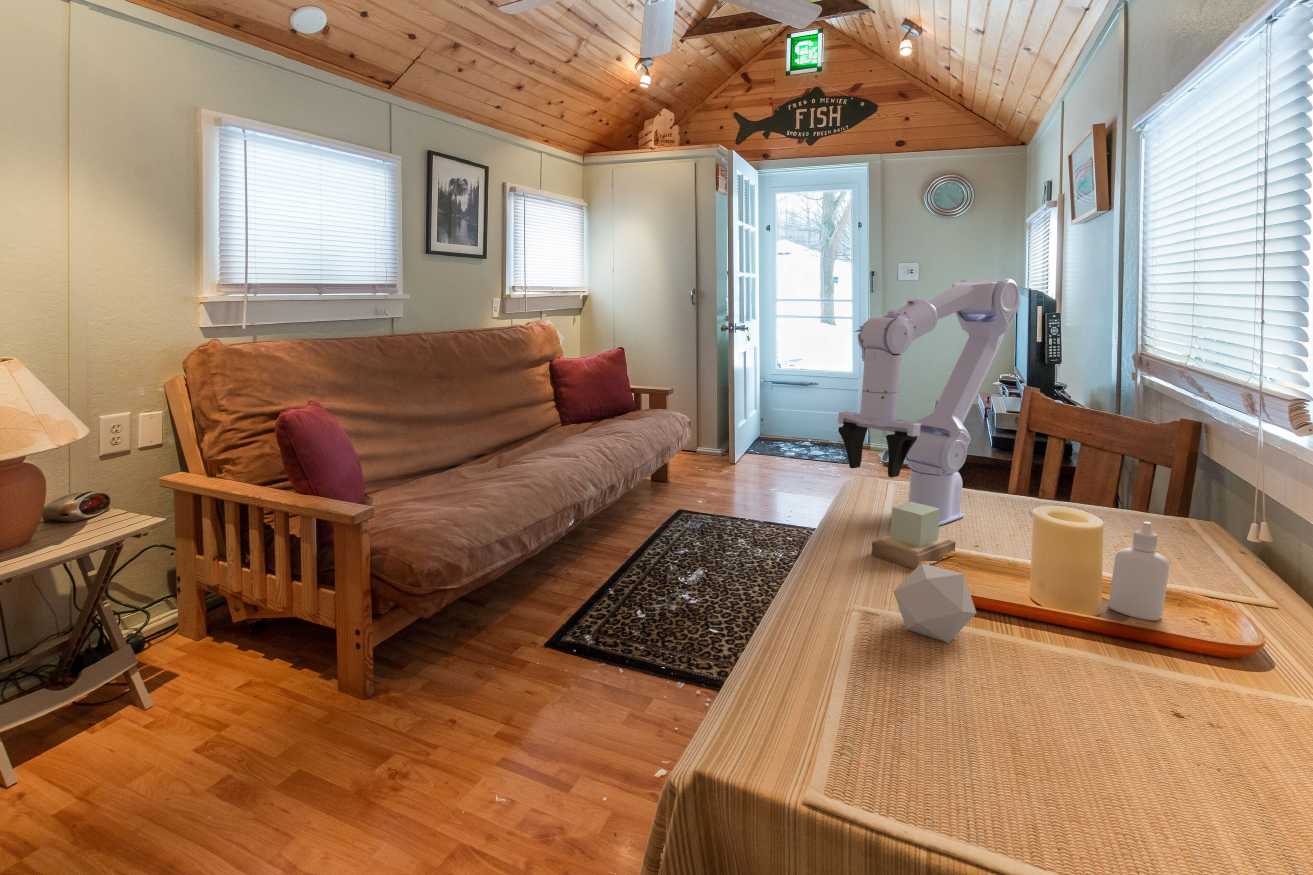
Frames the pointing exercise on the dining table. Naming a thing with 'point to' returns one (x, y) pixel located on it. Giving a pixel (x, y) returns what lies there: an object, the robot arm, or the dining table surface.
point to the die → (935, 602)
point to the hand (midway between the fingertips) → (873, 471)
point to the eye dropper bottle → (1140, 578)
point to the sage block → (915, 523)
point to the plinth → (911, 551)
